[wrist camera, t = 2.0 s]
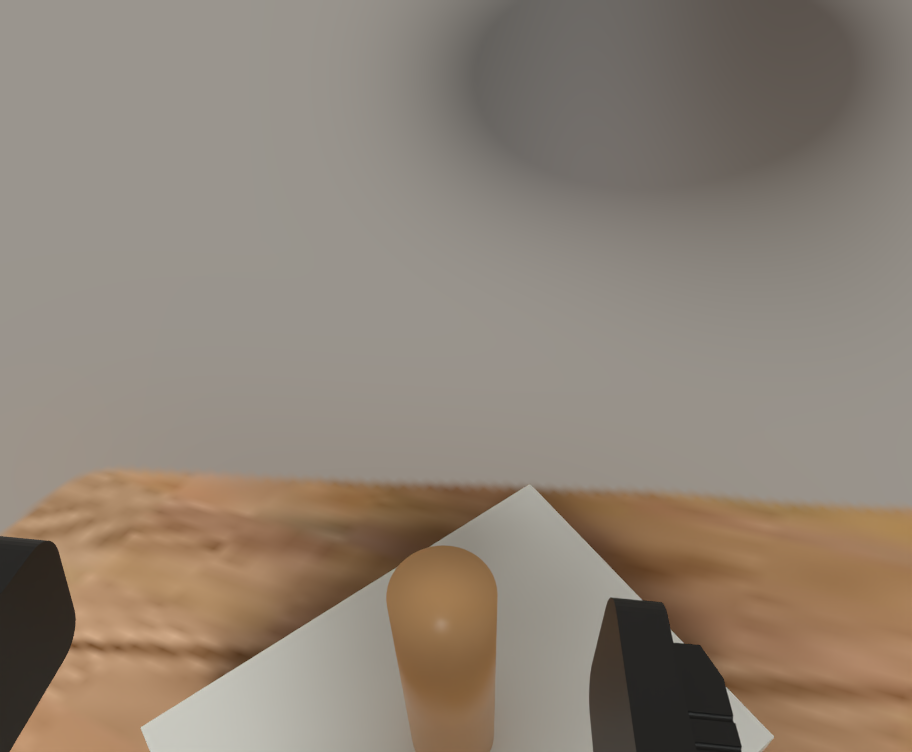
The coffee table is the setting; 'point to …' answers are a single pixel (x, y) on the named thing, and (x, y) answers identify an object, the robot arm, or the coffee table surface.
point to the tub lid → (434, 655)
